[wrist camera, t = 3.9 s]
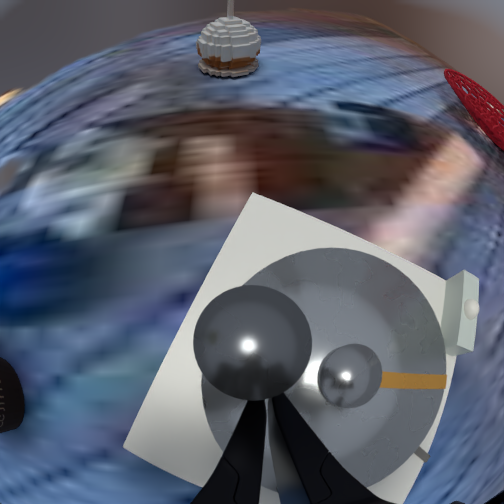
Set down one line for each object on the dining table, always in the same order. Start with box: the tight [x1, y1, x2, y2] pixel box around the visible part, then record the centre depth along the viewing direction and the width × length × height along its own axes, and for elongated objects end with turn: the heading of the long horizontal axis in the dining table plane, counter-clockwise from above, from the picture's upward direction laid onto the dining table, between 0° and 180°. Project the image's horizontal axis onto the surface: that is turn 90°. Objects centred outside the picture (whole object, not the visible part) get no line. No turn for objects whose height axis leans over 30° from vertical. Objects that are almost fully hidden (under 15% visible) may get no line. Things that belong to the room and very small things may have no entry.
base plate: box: [123, 193, 479, 504], centre depth 14 cm, size 20×20×4 cm
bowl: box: [444, 69, 504, 151], centre depth 32 cm, size 30×29×5 cm
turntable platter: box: [193, 247, 447, 492], centre depth 11 cm, size 16×16×10 cm
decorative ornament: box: [196, 0, 261, 77], centre depth 24 cm, size 8×8×15 cm
